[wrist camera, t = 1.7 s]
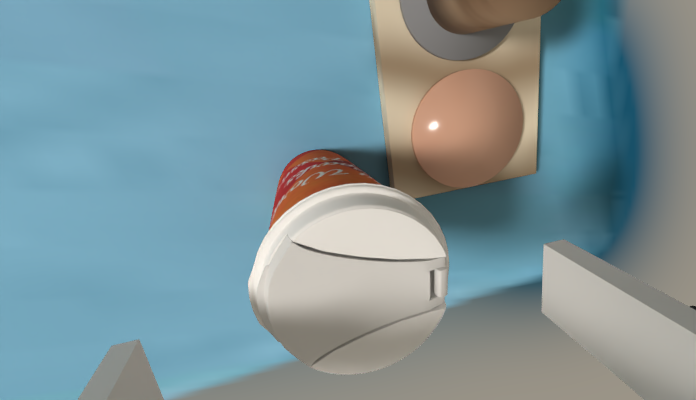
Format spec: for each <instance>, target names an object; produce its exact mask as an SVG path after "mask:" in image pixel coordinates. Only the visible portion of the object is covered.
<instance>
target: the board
mask: <svg viewBox="0 0 696 400" xmlns="http://www.w3.org/2000/svg"><path fill="white" fill-rule="evenodd" d="M369 1H370V10H371V19H372V28H373V37H374V46H375V55H376V64H377V73H378V82H379V91H380V100H381V109H382V118H383V127H384V136H385V145H386V154H387V163H388V172H389V181H390V187H391V188H395V189H397V190H399V191H401V192H403V193H406V194H408V195H410V196H411V197H413V198H419V197H424V196H429V195H434V194H438V193H443V192H448V191H453V190H458V189H463V188H457V187H450V186H447V185H444V184H442V183H439V182H438V181H436V180H435V179H433V178H431V177H430V176H429V175H428V174H427V173H425V171H424V170H423V169H422V168H421V166H420V165H419V163H418V162H417V160H416V157H415V155H414V152H413V148H412V142H411V129H412V122H413V118H414V115H415V112H416V109H417V107H418V105H419V103H420V101H421V100H422V98H423V96H424V95H425V94H426V92H427V91H428V90H429V89H430V88H431V87H432V86H433V85H434V84H435V83H436V82H438V81H439V80H440V79H442V78H443V77H445V76H447V75H449V74H451V73H454V72H456V71H460V70H466V69H484V70H488V71H491V72H494V73H496V74H498V75H500V76H501V77H503V78H504V79H505V80H506V81H508V82H509V84H510V85H511V86H512V87H513V88H514V90H515V92H516V93H517V95H518V97H519V100H520V103H521V106H522V112H523V129H522V134H521V138H520V142H519V144H518V147H517V149H516V151H515V153H514V155H513V157H512V158H511V160H510V161H509V162H508V164H507V165H506V166H505V167H504V168H503V169H502V170H501V171H500V172H499V173H498V174H497V175H495V176H494V177H493V178H491V179H489V180H488V181H486V182H484V183H481V184H479V185H482V184H487V183H492V182H496V181H501V180H506V179H511V178H516V177H521V176H525V175H530V174H535V173H536V160H537V127H538V95H539V62H540V29H541V16H539V17H536V18H533V19H529V20H525V21H520V22H516V23H514V25H513V27H512V28H511V30H510V31H509V33H508V34H507V35H506V36H505V38H504V39H503V40H502V41H501V42H500V43H499V44H498V45H497V46H496V47H494V48H493V49H491V50H490V51H489V52H487V53H485V54H483V55H481V56H478V57H476V58H472V59H468V60H457V61H454V60H446V59H441V58H439V57H436V56H434V55H432V54H430V53H428V52H427V51H426V50H424V49H423V48H422V47H421V46H420V45H419V44H418V43H417V42H416V41H415V40H414V38H413V37H412V36H411V34H410V32H409V31H408V29H407V27H406V25H405V22H404V20H403V17H402V13H401V9H400V3H399V0H369ZM476 186H477V185H476ZM465 188H467V187H465Z"/></svg>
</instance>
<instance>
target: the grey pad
mask: <svg viewBox="0 0 696 400" xmlns="http://www.w3.org/2000/svg"><path fill="white" fill-rule="evenodd" d="M399 3H400V9H401V13H402V17H403V20H404V22H405V25H406V27H407V29H408V31H409V32H410V34H411V36H412V37H413V38H414V40H415V41H416V42H417V43H418V44H419V45H420V46H421V47H422V48H423V49H424V50H426V51H427V52H428V53H430V54H432V55H434V56H436V57H439V58H441V59H446V60H454V61H457V60H468V59H472V58H476V57H478V56H481V55H483V54H485V53H487V52H489V51H490V50H491V49H493V48H494V47H496V46H497V45H498V44H499V43H500V42H501V41H502V40H503V39H504V38H505V36H506V35H507V34H508V33H509V31H510V30H511V28H512V27H513V25H514V23H512V24H508V25H503V26H499V27H495V28H491V29H486V30H482V31H478V32H474V33H469V34H454V33H451V32H449V31H447V30H445V29H443V28H442V27H441V26H440V25H439V24H438V23H437V22H436V21H435V20H434V18H433V17H432V15H431V13H430V10H429V8H428V4H427V0H399Z"/></svg>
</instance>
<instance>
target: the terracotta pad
mask: <svg viewBox="0 0 696 400" xmlns="http://www.w3.org/2000/svg"><path fill="white" fill-rule="evenodd" d="M522 129H523V112H522V106H521V103H520V100H519V97H518V95H517V93H516V92H515V90H514V88H513V87H512V86H511V85H510V84H509V82H508V81H506V80H505V79H504V78H503V77H501V76H500V75H498V74H496V73H494V72H491V71H488V70H484V69H466V70H460V71H456V72H454V73H451V74H449V75H447V76H445V77H443V78H442V79H440V80H439V81H438V82H436V83H435V84H434V85H433V86H432V87H431V88H430V89H429V90H428V91H427V92H426V94H425V95H424V96H423V98H422V100H421V101H420V103H419V105H418V107H417V109H416V112H415V115H414V118H413V122H412V129H411V142H412V148H413V152H414V155H415V157H416V160H417V162H418V163H419V165H420V166H421V168H422V169H423V170H424V171H425V173H427V174H428V175H429V176H430V177H431V178H433V179H435V180H436V181H438V182H439V183H442V184H444V185H447V186H450V187H457V188H465V187H472V186H476V185H479V184H481V183H484V182H486V181H488V180H489V179H491V178H493V177H494V176H495V175H497V174H498V173H499V172H500V171H501V170H502V169H503V168H504V167H505V166H506V165H507V164H508V162H509V161H510V160H511V158H512V157H513V155H514V153H515V151H516V149H517V147H518V144H519V142H520V138H521V134H522Z"/></svg>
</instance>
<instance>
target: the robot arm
mask: <svg viewBox="0 0 696 400" xmlns="http://www.w3.org/2000/svg"><path fill="white" fill-rule="evenodd" d="M542 286H543V287H542V313H544V314H545V315H546V316H547V317H548V318H549V319H550V320H552V321H553V322H554V323H555V324H556V325H557V326H559V327H560V328H561V329H562V330H563V331H564V332H566V333H567V334H568V335H569V336H570V337H572V338H573V339H574V340H575V341H576V342H577V343H578V344H580V345H581V346H582V347H583V348H584V349H585V350H587V351H588V352H589V353H590V354H591V355H592V356H594V357H595V358H596V359H597V360H598V361H599V362H601V363H602V364H603V365H604V366H605V367H607V368H608V369H609V370H610V371H611V372H613V374H615V375H616V376H617V377H618V378H619V379H620V380H622V381H623V382H624V383H625V384H626V385H628V386H629V387H630V388H631V389H632V390H633V391H635V392H636V393H637V394H638V395H639V396H640V397H642V398H643V399H644V400H696V306H690V307H689V306H687V305H685V304H683V303H681V302H679V301H677V300H676V299H674V298H672V297H670V296H668V295H667V294H665V293H663V292H661V291H659V290H657V289H655V288H654V287H652V286H650V285H648V284H646V283H644V282H642V281H640V280H639V279H637V278H635V277H633V276H631V275H629V274H627V273H625V272H624V271H622V270H620V269H618V268H616V267H614V266H613V265H611V264H609V263H607V262H605V261H603V260H601V259H600V258H598V257H596V256H594V255H592V254H590V253H588V252H587V251H585V250H583V249H581V248H579V247H577V246H575V245H573V244H572V243H570V242H568V241H566V240H564V239H563V240H559V241H555V242H551V243H546V244H544V252H543V285H542ZM78 400H164V399H163V397H162V394H161V392H160V389H159V387H158V384H157V382H156V379H155V377H154V375H153V372H152V370H151V367H150V365H149V362H148V360H147V357H146V355H145V353H144V350H143V348H142V345H141V343H140V340H134V341H130V342H126V343H122V344H117V345H113V346H111V348H110V349H109V351H108V352H107V354H106V355H105V357H104V359H103V360H102V362H101V363H100V365H99V367H98V368H97V370H96V371H95V373H94V374H93V376H92V378H91V379H90V381H89V382H88V384H87V386H86V387H85V389H84V390H83V392H82V394H81V395H80V397H79V398H78Z"/></svg>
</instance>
